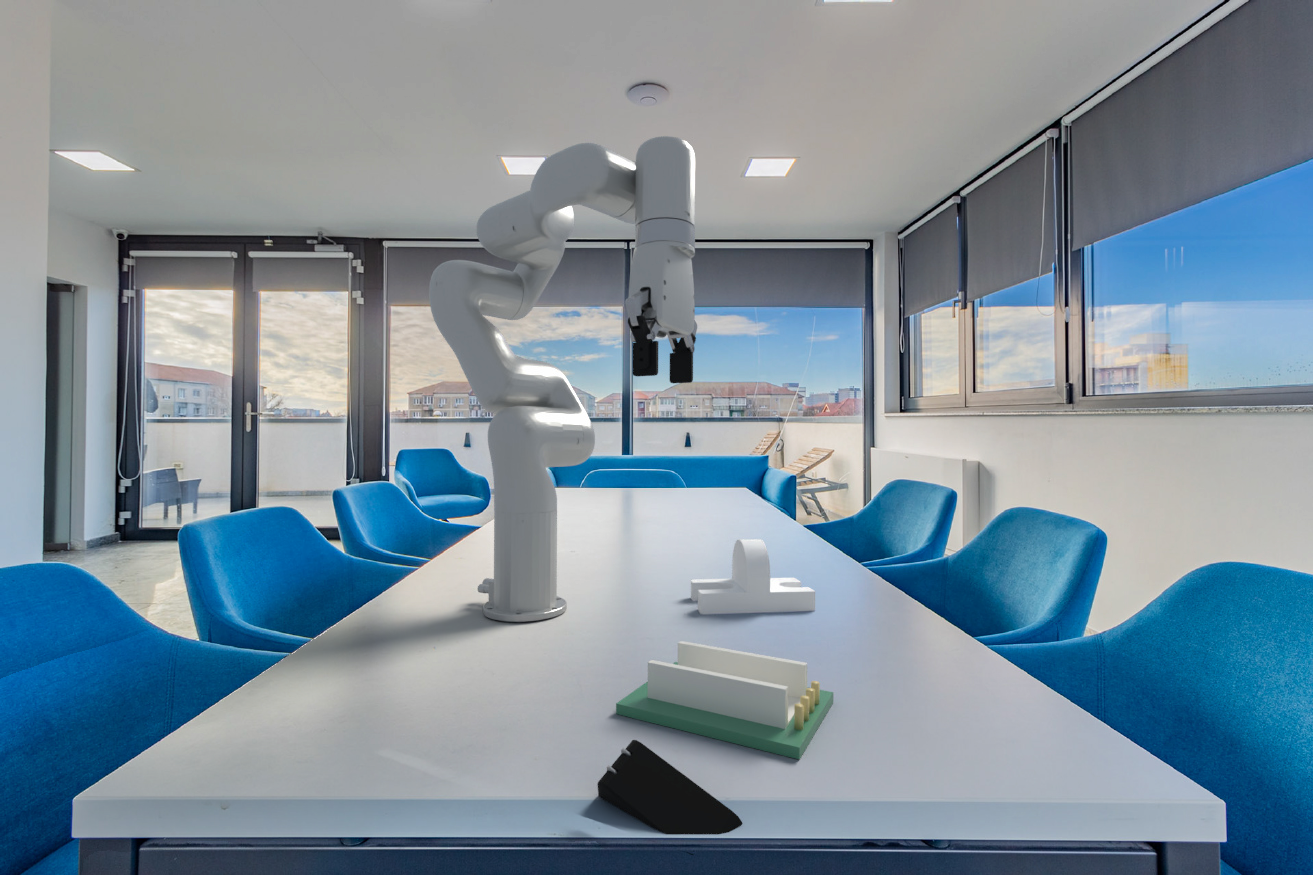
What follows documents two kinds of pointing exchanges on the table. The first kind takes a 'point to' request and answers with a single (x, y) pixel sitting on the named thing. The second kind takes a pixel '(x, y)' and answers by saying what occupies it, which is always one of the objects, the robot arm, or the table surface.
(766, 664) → the board
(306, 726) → the table surface
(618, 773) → the electronic device
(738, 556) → the white bracket
